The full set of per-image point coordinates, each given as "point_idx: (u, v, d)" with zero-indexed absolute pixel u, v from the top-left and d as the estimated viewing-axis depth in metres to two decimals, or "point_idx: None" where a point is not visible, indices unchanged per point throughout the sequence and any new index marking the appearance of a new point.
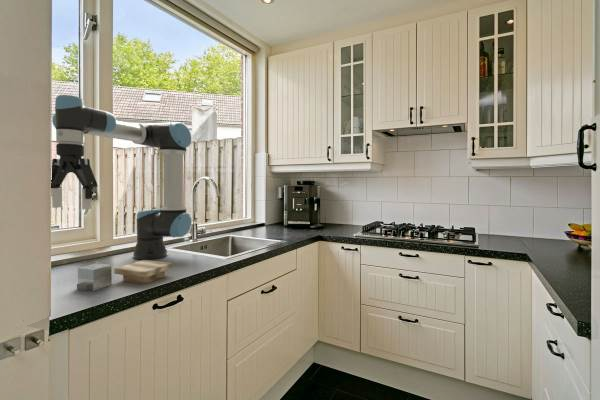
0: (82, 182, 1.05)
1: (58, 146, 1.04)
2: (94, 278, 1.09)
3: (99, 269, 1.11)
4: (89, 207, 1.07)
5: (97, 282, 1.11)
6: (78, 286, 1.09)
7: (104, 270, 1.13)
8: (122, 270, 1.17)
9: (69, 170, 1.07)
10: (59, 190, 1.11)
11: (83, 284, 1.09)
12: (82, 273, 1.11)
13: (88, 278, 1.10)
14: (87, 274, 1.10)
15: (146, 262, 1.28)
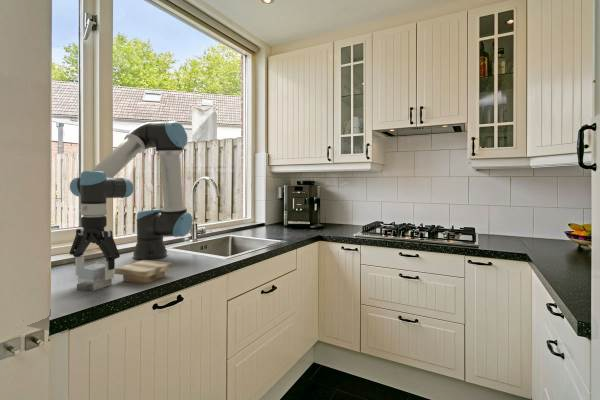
0: (105, 254, 1.10)
1: (83, 220, 1.09)
2: (94, 278, 1.09)
3: (99, 269, 1.11)
4: (111, 277, 1.12)
5: (97, 282, 1.11)
6: (78, 286, 1.09)
7: (104, 270, 1.13)
8: (122, 270, 1.17)
9: (93, 241, 1.11)
10: (82, 258, 1.16)
11: (83, 284, 1.09)
12: (82, 273, 1.11)
13: (88, 278, 1.10)
14: (87, 274, 1.10)
15: (146, 262, 1.28)
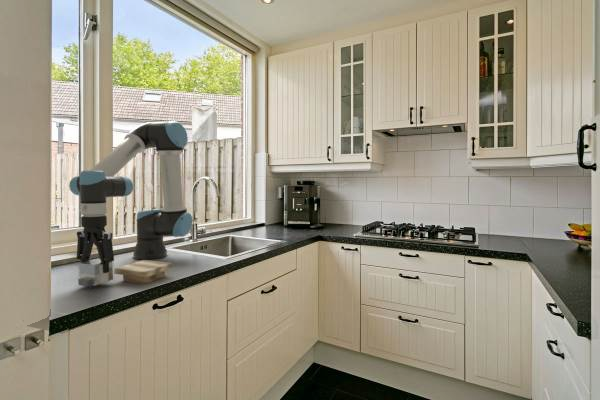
0: (101, 257, 1.11)
1: (83, 220, 1.09)
2: (95, 273, 1.10)
3: None
4: (106, 280, 1.13)
5: (98, 277, 1.11)
6: (79, 281, 1.10)
7: None
8: (122, 270, 1.17)
9: None
10: None
11: (84, 279, 1.10)
12: (83, 268, 1.11)
13: (89, 273, 1.10)
14: (88, 269, 1.10)
15: (146, 262, 1.28)
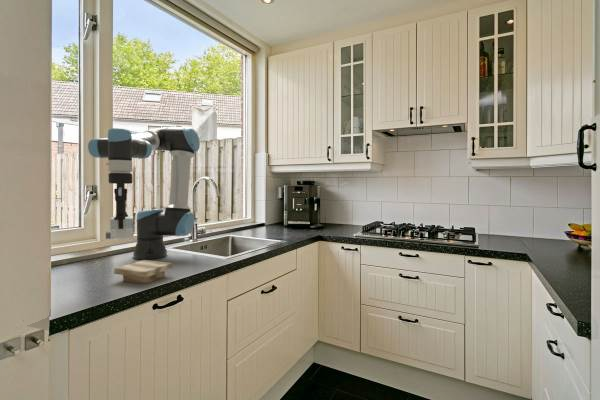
0: None
1: (108, 175, 1.15)
2: (111, 227, 1.13)
3: None
4: (123, 236, 1.14)
5: (115, 232, 1.14)
6: None
7: None
8: (122, 270, 1.17)
9: None
10: None
11: (108, 232, 1.16)
12: None
13: None
14: None
15: (146, 262, 1.28)
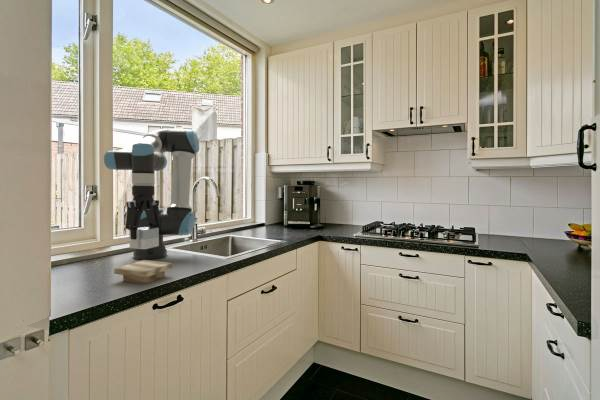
0: None
1: None
2: (130, 237, 1.20)
3: None
4: (136, 247, 1.18)
5: None
6: None
7: None
8: (122, 270, 1.17)
9: None
10: None
11: None
12: None
13: None
14: None
15: (146, 262, 1.28)
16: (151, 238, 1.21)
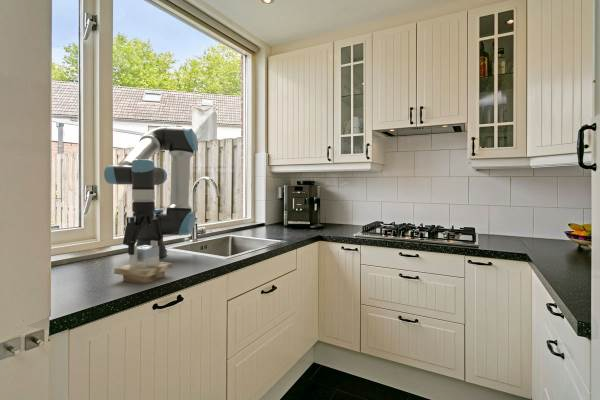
0: None
1: None
2: None
3: None
4: (133, 262, 1.17)
5: None
6: None
7: (139, 252, 1.19)
8: (122, 270, 1.17)
9: None
10: (154, 243, 1.27)
11: None
12: None
13: None
14: None
15: None
16: (151, 257, 1.21)
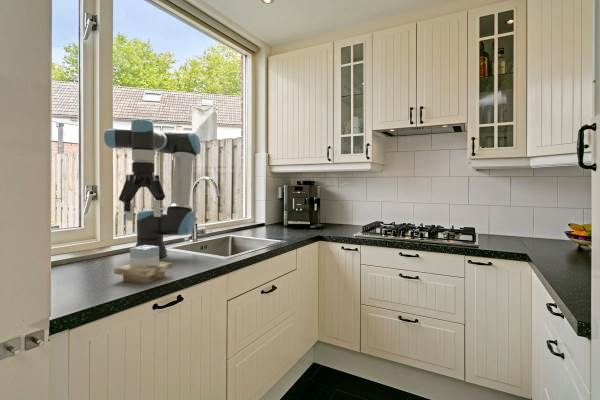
0: None
1: None
2: (130, 256, 1.20)
3: (134, 249, 1.20)
4: (130, 219, 1.16)
5: (133, 261, 1.20)
6: None
7: (139, 252, 1.19)
8: (122, 270, 1.17)
9: None
10: (157, 202, 1.28)
11: None
12: None
13: None
14: None
15: None
16: (151, 257, 1.21)
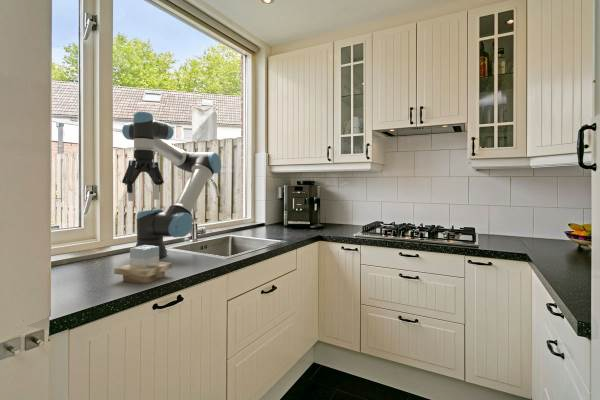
0: None
1: None
2: (130, 256, 1.20)
3: (134, 249, 1.20)
4: (132, 200, 1.31)
5: (133, 261, 1.20)
6: None
7: (139, 252, 1.19)
8: (122, 270, 1.17)
9: None
10: (156, 186, 1.43)
11: None
12: None
13: None
14: None
15: None
16: (151, 257, 1.21)
